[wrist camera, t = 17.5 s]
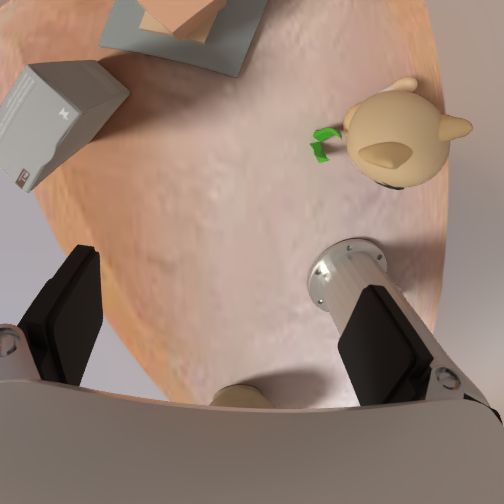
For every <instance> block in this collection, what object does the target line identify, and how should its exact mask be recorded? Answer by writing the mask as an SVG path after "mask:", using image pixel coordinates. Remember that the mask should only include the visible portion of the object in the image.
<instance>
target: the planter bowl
mask: <svg viewBox="0 0 504 504" xmlns="http://www.w3.org/2000/svg"><path fill="white" fill-rule="evenodd" d="M209 406H219V407H235V408H258V409H277V408H276V407H275V406H274V405H273V404H272V403H271V402H270V401H269V400H268V399H267V398H265V397H264V396H262V394H261V392H260V391H259V390H258V389H256V388H254V387H252V386H247V385H234V386H229V387H226V388H224V389H222V390H220V391H218V392H217V393H216V394H215V396H214V398H213V401H212V402H211V404H210V405H209Z"/></svg>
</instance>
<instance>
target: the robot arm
mask: <svg viewBox="0 0 504 504" xmlns="http://www.w3.org/2000/svg"><path fill="white" fill-rule="evenodd" d="M387 267H388V266H387V260H386V258H385V255H384V254H383V252H382V251H381V250H380V249H379V248H378V247H377V245H375V244H374V243H372V242H370V241H367V240H364V239H349V240H345V241H342V242H339V243H337V244H335V245H333V246H331V247H330V248H328V249H327V250H326V251H324V252H323V253H322V254H321V255H320V256H319V257H318V259H317V260H316V261H315V262H314V264H313V266H312V268H311V269H310V272H309V275H308V281H307V287H308V292H309V295H310V297H311V299H312V301H313V303H314V304H315V305H316V306H317V307H319V308H320V309H322V310H324V311H326V312H330V314H331V316H332V319H333V321H334V323H335V325H336V327H337V329H338V331H339V333H340V336H341V337H340V339H339V342H338V351H339V353H340V356H341V358H342V361H343V363H344V366H345V368H346V370H347V373H348V375H349V378H350V380H351V383H352V385H353V388H354V390H355V393H356V396H357V398H358V401H359V403H360V406H358V407H343V408H319V409H258V408H235V407H219V406H206V405H195V404H185V403H176V402H168V401H160V400H153V399H146V398H140V397H133V396H127V395H121V394H115V393H109V392H104V391H99V390H94V389H89V388H83V387H79V386H80V382H81V379H82V377H83V374H84V371H85V368H86V365H87V363H88V360H89V357H90V354H91V352H92V349H93V346H94V343H95V341H96V338H97V336H98V333H99V331H100V328H101V326H102V322H103V309H102V295H101V278H100V255H99V252H96V251H95V249H94V247H92V246H85V245H77V246H76V247H75V248H74V250H73V251H72V252H71V254H70V255H69V256H68V257H67V259H66V260H65V262H64V263H63V264H62V266H61V267H60V268H59V269H58V271H57V272H56V274H55V275H54V277H53V278H52V279H49V280H48V281H47V283H46V284H45V285H44V287H43V288H42V289H41V291H40V292H39V294H38V295H37V297H36V298H35V299H34V301H33V302H32V304H31V305H30V307H29V308H28V310H27V311H26V313H25V314H24V316H23V317H22V319H21V321H20V322H19V324H18V325H17V326H15V325H12V324H0V504H504V427H503V424H502V420H501V418H500V415H499V413H498V412H497V411H496V410H495V409H492V408H491V407H490V405H489V403H488V401H487V400H486V398H485V397H484V395H483V394H482V392H481V391H480V390H479V389H478V388H477V387H476V386H475V384H473V382H472V381H471V380H470V379H469V378H468V377H467V376H466V375H465V374H464V373H463V372H462V371H461V370H460V369H459V368H458V366H457V365H456V364H455V363H454V362H453V361H452V360H451V358H450V357H449V356H448V355H447V354H446V352H445V351H444V350H443V348H442V347H441V346H440V344H439V343H438V342H437V340H436V339H435V338H434V336H433V335H432V333H431V332H430V331H429V329H428V328H427V327H426V325H425V324H424V322H423V321H422V320H421V318H420V317H419V316H418V314H417V313H416V312H415V310H414V309H413V307H412V306H411V305H410V303H409V302H408V301H407V300H406V298H405V297H404V296H403V294H402V293H401V286H399V285H396V284H394V283H393V281H392V280H391V279H390V278H389V276H388V275H387Z"/></svg>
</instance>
